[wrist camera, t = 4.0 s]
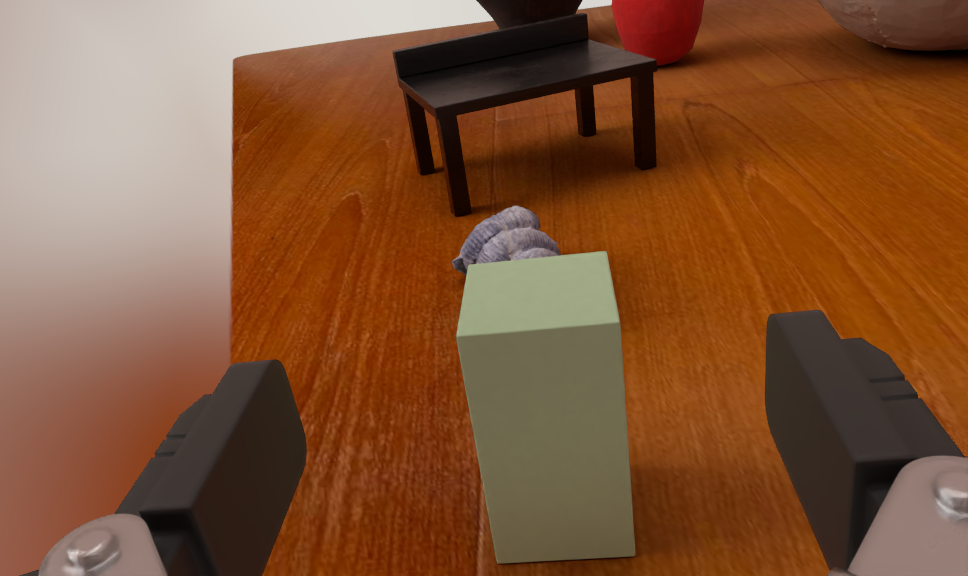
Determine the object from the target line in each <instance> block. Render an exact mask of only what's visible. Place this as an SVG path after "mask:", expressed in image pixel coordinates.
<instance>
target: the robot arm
mask: <svg viewBox="0 0 968 576" xmlns="http://www.w3.org/2000/svg"><path fill="white" fill-rule="evenodd" d="M765 405H766V413H767V419H768V424H769V428H770V431H771V434H772V437H773V439H774V441H775V444H776V446H777V448H778V451H779V453H780V455H781V458H782V460H783V462H784V465H785V467H786V469H787V472H788V474H789V476H790V479H791V481H792V483H793V486H794V488H795V490H796V493H797V495H798V497H799V500H800V502H801V504H802V507H803V509H804V511H805V514H806V516H807V518H808V521H809V523H810V525H811V528H812V530H813V532H814V535H815V537H816V539H817V542H818V544H819V546H820V549H821V551H822V553H823V556H824V558H825V560H826V563H827V565H828V567H829V570H830V572H829V573H828V575H827V576H968V459H967V458H965V456H964V455H963V454H962V452H961V451H960V450H959V448H958V447H957V446H956V444H955V443H954V442H953V440H952V439H951V438H950V436H949V435H948V434H947V432H946V431H945V430H944V428H943V427H942V426H941V424H940V423H939V422H938V420H937V419H936V418H935V416H934V415H933V414H932V412H931V411H930V410H929V408H928V407H927V406H926V404H925V403H924V402H923V400H922V399H921V398H918V394H917V392H916V391H915V390H914V388H913V387H912V386H911V384H910V383H909V382H908V380H906V381H905V378H904V375H903V374H902V372H901V371H900V370H899V368H898V367H897V366H896V364H895V363H894V362H893V360H892V359H891V358H890V356H889V355H888V354H886V353H885V352H883V351H881V350H880V349H878V348H876V347H875V346H873V345H872V344H870V343H868V342H867V341H865V340H863V339H862V338H852V339H841V338H840V337H839V335H838V334H837V332H836V331H835V329H834V328H833V326H832V325H831V323H830V322H829V320H828V319H827V317H826V316H825V314H824V313H823V312H822V311H821V310H810V311H800V312H789V313H778V314H771V315H770V316H769V318H768V321H767V336H766V376H765ZM166 437H167V439H166V440H163V442H162V443H161V445H160V446H159V448H158V449H157V451H156V452H155V458H151V460H150V461H149V463H148V464H147V466H146V467H145V469H144V470H143V472H142V473H141V475H140V476H139V478H138V479H137V481H136V482H135V484H134V485H133V487H132V488H131V490H130V491H129V493H128V494H127V496H126V497H125V499H124V500H123V502H122V503H121V505H120V506H119V508H118V509H117V511H116V512H115V514H113V515H109V516H105V517H101V518H98V519H95V520H93V521H90V522H88V523H86V524H84V525H82V526H80V527H78V528H77V529H75V530H73V531H72V532H70V533H69V534H67V535H66V536H65V537H63V538H62V539H61V540H60V541H59V542H58V543H57V544H56V545H54V546H53V548H52V549H51V550H50V551H49V552H48V553H47V555H46V557H45V558H44V559H43V562H42V564H41V566H40V569H39V570H36V571H33V572H30V573H27V574H23V575H20V576H262V574H263V572H264V569H265V567H266V564H267V562H268V559H269V557H270V554H271V552H272V549H273V546H274V544H275V541H276V539H277V536H278V534H279V531H280V529H281V526H282V524H283V521H284V519H285V516H286V513H287V511H288V508H289V506H290V503H291V501H292V498H293V496H294V493H295V491H296V488H297V486H298V483H299V481H300V478H301V475H302V473H303V470H304V467H305V463H306V449H307V448H306V438H305V433H304V429H303V426H302V423H301V419H300V416H299V413H298V410H297V407H296V403H295V400H294V397H293V394H292V391H291V387H290V384H289V381H288V378H287V375H286V372H285V369H284V367H283V365H282V364H281V362H280V361H278V360H264V361H254V362H243V363H234V364H232V365H231V366H230V367H229V368H228V370H227V372H226V373H225V375H224V376H223V378H222V380H221V381H220V383H219V384H218V386H217V387H216V389H215V391H214V392H213V394H210V395H204V396H203V397H201V398H200V399H199V400H198V401H197V402H195V403H194V404H193V405H192V406H190V407H189V408H188V409H187V410H185V412H183V413H182V414H181V415H180V416H179V418H178V419H177V421H176V422H175V424H174V425H173V427H172V428H171V430H170V431H169V433H168V434H167V436H166Z"/></svg>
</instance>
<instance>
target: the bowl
mask: <svg viewBox="0 0 968 576" xmlns="http://www.w3.org/2000/svg"><path fill="white" fill-rule="evenodd" d="M817 1H818V2H819V3H820V4H821V5H822V6H823V7H824V8H825V10H826V11H827V12H828V13H829V14H830V15H831V16H832V17H833V19H834V20H835V21H836V22H837V23H838V24H839V25H841V26H842V27H844V28H845V29H846V30H848V31H850V32H851V33H853V34H855V35H857V36H859V37H861V38H863V39H865V40H867V41H869V42H874V43H876V44H878V45H881V46H883V47H884V48H886V47H891V48H898V49H903V50H917V51H920V50H924V51H943V50H968V0H817Z"/></svg>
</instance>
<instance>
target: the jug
mask: <svg viewBox="0 0 968 576" xmlns="http://www.w3.org/2000/svg"><path fill="white" fill-rule="evenodd" d="M477 1H478V2H479V4H480V5H481V6H482V7H483V8H484V9H485V10H486V11H487V12H488V13H489V14H490V15H491V17H492V18H493V19H494V21H495V22H496V24H497V25H498V27H499V29H504V28H509V27H514V26H519V25H524V24H529V23H534V22H539V21H544V20H549V19H554V18H559V17H564V16H569V15H574V14H576V11H577V9H578V7H579V5H580V4H581V2H582V0H477Z"/></svg>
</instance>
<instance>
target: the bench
mask: <svg viewBox="0 0 968 576" xmlns="http://www.w3.org/2000/svg"><path fill="white" fill-rule="evenodd" d="M393 57H394V62H395V67H396V73H397V76H398V77H397V78H398V83H399V87H400V88H401V89H403V94H404V100H405V105H406V110H407V116H408V121H409V126H410V132H411V137H412V143H413V148H414V153H415V159H416V164H417V169H418V172H419V173H420V174H421V175H424V174H429V173H433V172H435V168H434V163H433V157H432V151H431V146H430V140H429V134H428V129H427V123H426V117H425V111H424V109H426V110H427V111H428V112H429V113H430V114H431V115H432V116H434V117H435V119H436V125H437V131H438V137H439V142H440V148H441V154H442V160H443V166H444V172H445V178H446V184H447V190H448V196H449V201H450V207H451V212H452V213H453V214H454V215H455V216H456V217H457V216H461V215H465V214H469V213H471V206H470V199H469V193H468V186H467V180H466V174H465V167H464V161H463V154H462V148H461V142H460V135H459V129H458V123H457V116H456V115H461V114H465V113H470V112H474V111H479V110H483V109H488V108H492V107H497V106H501V105H506V104H510V103H515V102H519V101H524V100H529V99H533V98H538V97H542V96H547V95H551V94H556V93H560V92H565V91H569V90H574V89H575V99H576V111H577V123H578V134H580V135H581V136H583V137H586V136H590V135H594V134H596V121H595V107H594V94H593V85H597V84H601V83H606V82H610V81H615V80H619V79H624V78H628V77H630V78H631V98H632V118H633V138H634V158H635V166H636V167H637V168H639V169H641V170H645V169H649V168H653V167H656V166H657V165H656V138H655V111H654V83H653V72H655V71H657V60H655V59H652V58H649V57H645V56H642V55H639V54H635V53H632V52H629V51H626V50H622V49H619V48H616V47H612V46H609V45H606V44H602V43H599V42H596V41H593V40H589V36H588V23H587V14H585V13H579V14H574V15H569V16H564V17H559V18H554V19H549V20H544V21H539V22H534V23H529V24H524V25H519V26H514V27H509V28H504V29H499V30H494V31H489V32H484V33H479V34H474V35H469V36H464V37H459V38H454V39H449V40H444V41H438V42H433V43H428V44H423V45H418V46H413V47H408V48H403V49H398V50H393Z"/></svg>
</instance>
